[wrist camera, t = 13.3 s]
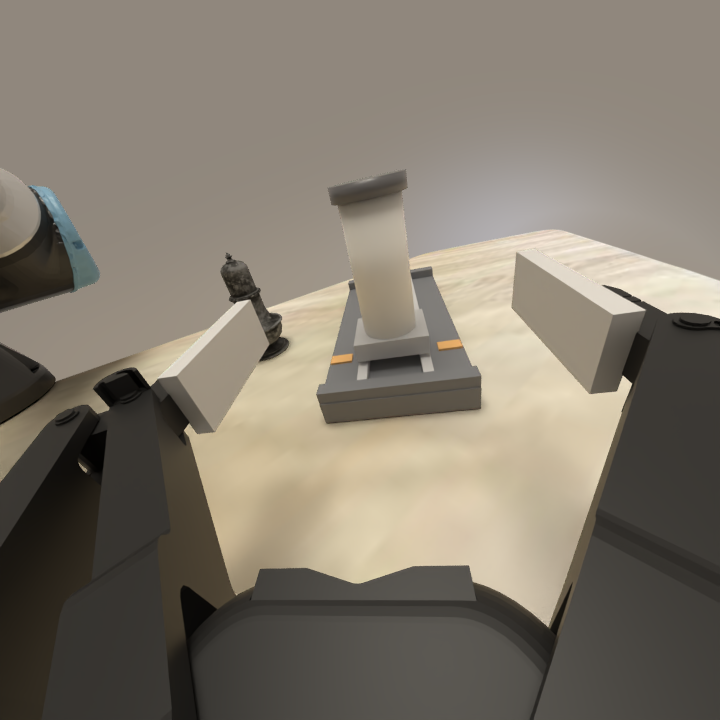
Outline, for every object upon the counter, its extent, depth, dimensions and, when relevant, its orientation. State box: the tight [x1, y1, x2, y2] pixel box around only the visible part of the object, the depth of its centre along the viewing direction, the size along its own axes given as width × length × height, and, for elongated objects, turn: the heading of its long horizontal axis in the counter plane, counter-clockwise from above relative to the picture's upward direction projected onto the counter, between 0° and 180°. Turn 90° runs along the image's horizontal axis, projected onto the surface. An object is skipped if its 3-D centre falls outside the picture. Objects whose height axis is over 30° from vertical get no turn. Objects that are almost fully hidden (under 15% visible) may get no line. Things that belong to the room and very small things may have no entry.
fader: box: [328, 170, 430, 362], centre depth 23 cm, size 6×5×13 cm
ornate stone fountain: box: [221, 253, 289, 361], centre depth 34 cm, size 6×6×12 cm
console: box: [316, 266, 481, 423], centre depth 33 cm, size 12×26×3 cm, turn 176°
